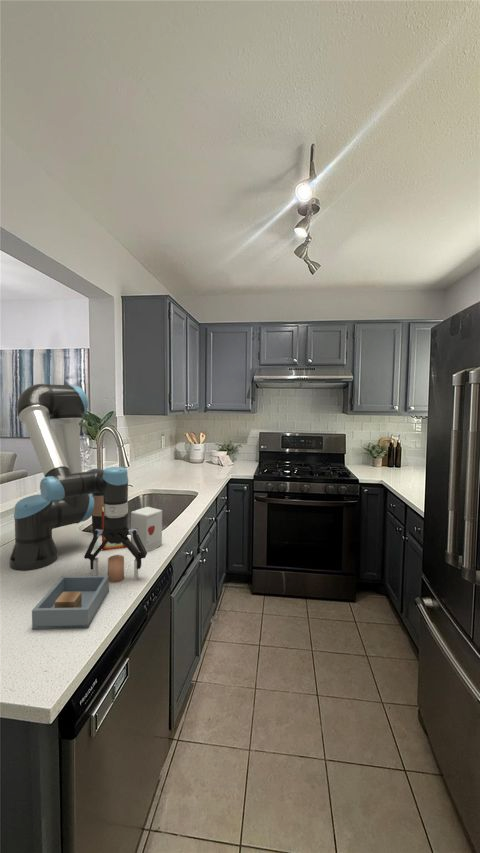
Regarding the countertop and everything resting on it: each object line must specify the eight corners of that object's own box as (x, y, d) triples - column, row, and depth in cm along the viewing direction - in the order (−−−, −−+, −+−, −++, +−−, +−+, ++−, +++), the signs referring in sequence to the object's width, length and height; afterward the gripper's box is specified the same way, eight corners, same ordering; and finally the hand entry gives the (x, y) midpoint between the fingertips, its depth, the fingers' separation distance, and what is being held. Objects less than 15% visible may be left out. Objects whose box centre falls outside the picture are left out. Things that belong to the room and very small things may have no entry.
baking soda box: (102, 550, 140) (101, 510, 139) (101, 544, 146) (101, 506, 145) (127, 547, 144) (127, 508, 143) (126, 541, 150) (126, 504, 149)
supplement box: (146, 553, 139) (146, 515, 138) (130, 548, 143) (130, 511, 142) (162, 545, 146) (162, 509, 145) (147, 540, 151) (147, 506, 150)
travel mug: (104, 536, 155) (103, 491, 153) (88, 534, 156) (87, 489, 155) (113, 530, 162) (113, 486, 161) (98, 528, 164) (98, 485, 162)
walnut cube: (54, 620, 95) (54, 602, 94) (63, 609, 100) (63, 591, 99) (74, 620, 95) (73, 601, 94) (81, 609, 100) (81, 591, 99)
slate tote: (32, 629, 92) (31, 610, 92) (62, 592, 110) (62, 576, 109) (88, 628, 93) (87, 609, 93) (108, 591, 111) (108, 575, 110)
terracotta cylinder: (106, 582, 116) (105, 561, 116) (110, 575, 121) (110, 555, 121) (121, 582, 116) (121, 561, 116) (125, 575, 121) (125, 554, 121)
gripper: (72, 518, 113) (73, 584, 114) (151, 518, 114) (151, 583, 116) (81, 511, 120) (82, 573, 122) (155, 511, 122) (155, 572, 123)
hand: (116, 578), depth 119 cm, fingers open, 12 cm apart
